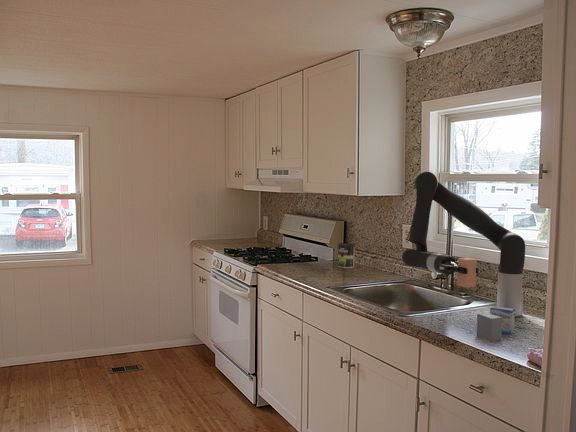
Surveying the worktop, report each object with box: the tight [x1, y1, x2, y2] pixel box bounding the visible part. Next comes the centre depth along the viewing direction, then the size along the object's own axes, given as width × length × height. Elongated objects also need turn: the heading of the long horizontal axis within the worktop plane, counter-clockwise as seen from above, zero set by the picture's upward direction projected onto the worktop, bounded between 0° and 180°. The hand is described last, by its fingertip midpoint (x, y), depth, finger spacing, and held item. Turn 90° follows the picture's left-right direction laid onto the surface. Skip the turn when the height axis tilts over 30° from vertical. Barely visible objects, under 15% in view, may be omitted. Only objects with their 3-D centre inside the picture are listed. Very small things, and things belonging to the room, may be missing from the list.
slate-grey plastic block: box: [476, 312, 503, 343], centre depth 191 cm, size 4×7×8 cm, turn 24°
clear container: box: [337, 242, 356, 269], centre depth 338 cm, size 10×10×14 cm
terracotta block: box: [456, 257, 477, 288], centre depth 202 cm, size 4×4×10 cm
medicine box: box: [489, 305, 516, 335], centre depth 200 cm, size 8×4×9 cm, turn 56°
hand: (472, 270), depth 199 cm, fingers closed on terracotta block, 4 cm apart
